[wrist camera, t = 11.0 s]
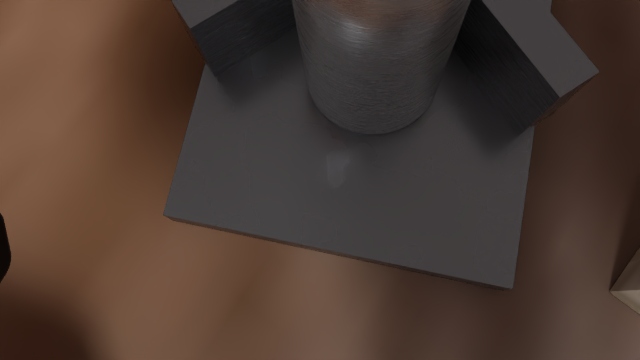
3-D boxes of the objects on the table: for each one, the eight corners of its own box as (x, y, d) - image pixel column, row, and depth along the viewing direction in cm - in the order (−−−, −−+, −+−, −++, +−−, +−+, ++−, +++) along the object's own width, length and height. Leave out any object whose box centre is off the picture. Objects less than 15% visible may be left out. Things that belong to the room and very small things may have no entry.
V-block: (517, 293, 16) (575, 288, 12) (158, 217, 17) (106, 190, 13) (557, -10, 18) (618, -96, 14) (238, -65, 19) (213, -161, 15)
